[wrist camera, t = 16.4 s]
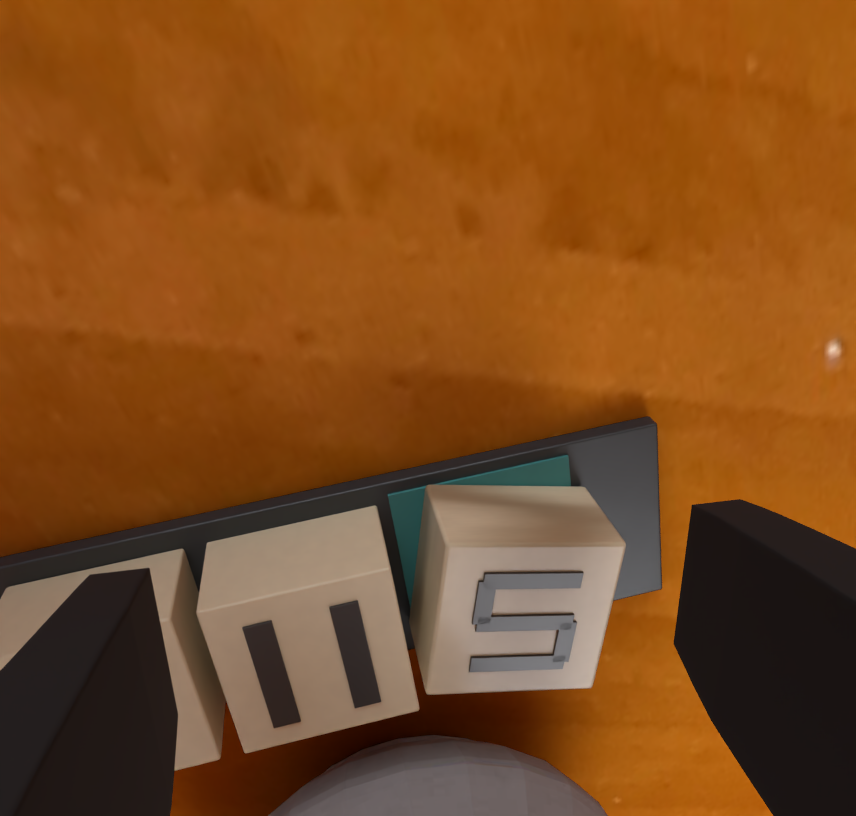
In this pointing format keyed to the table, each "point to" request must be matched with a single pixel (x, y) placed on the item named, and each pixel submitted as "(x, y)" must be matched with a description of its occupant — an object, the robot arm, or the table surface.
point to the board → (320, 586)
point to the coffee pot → (440, 783)
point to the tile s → (512, 588)
